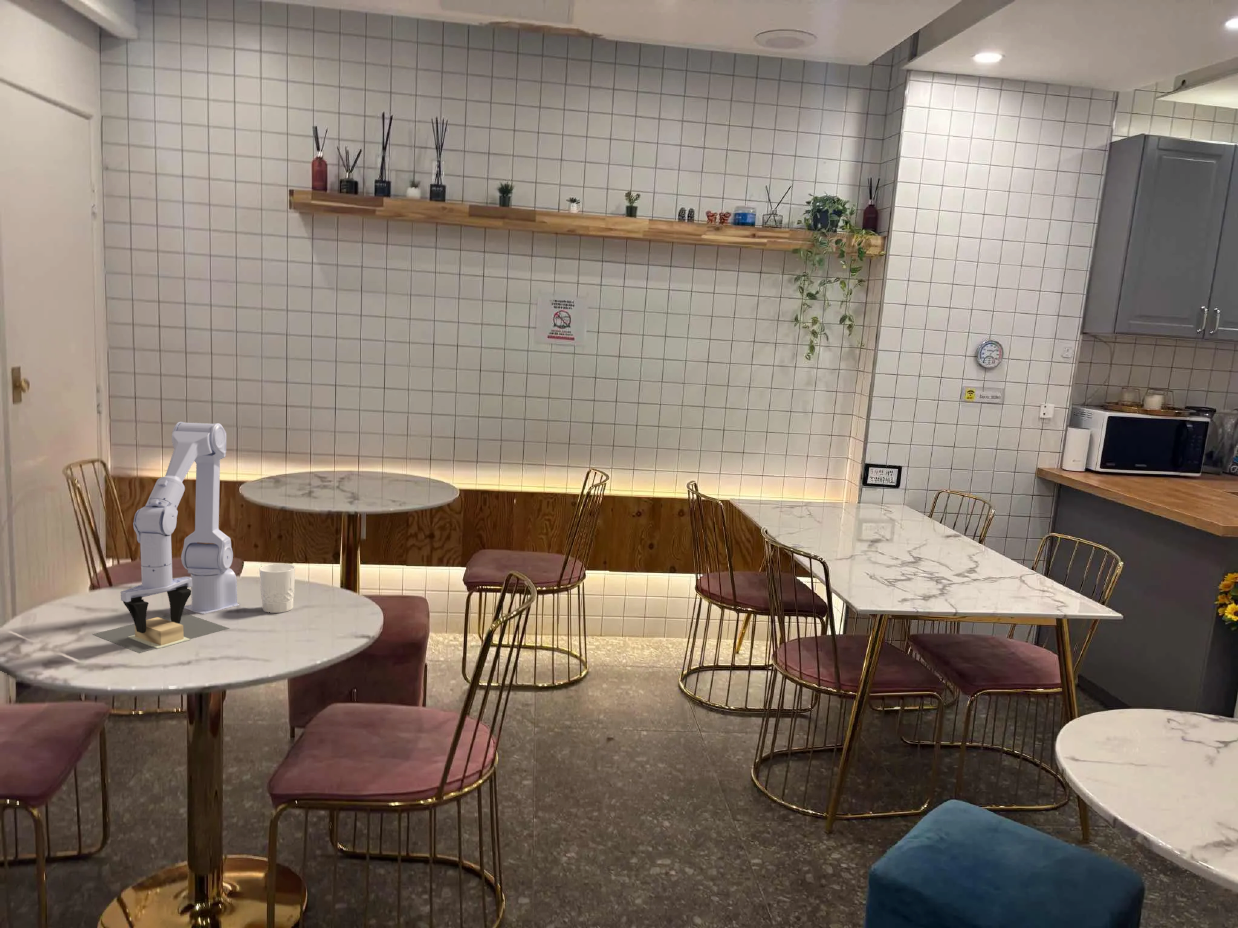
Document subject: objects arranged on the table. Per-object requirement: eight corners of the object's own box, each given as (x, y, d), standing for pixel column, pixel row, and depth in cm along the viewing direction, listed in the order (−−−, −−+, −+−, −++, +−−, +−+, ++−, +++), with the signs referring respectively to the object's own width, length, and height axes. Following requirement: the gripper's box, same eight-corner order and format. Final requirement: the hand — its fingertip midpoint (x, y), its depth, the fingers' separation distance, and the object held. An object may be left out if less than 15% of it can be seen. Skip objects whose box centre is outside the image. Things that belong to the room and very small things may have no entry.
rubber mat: (182, 613, 208) (182, 611, 208) (231, 630, 198) (231, 627, 198) (92, 635, 191) (92, 633, 191) (140, 655, 181) (140, 652, 181)
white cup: (258, 614, 210) (257, 572, 208) (261, 604, 217) (261, 564, 216) (294, 613, 212) (293, 571, 210) (296, 603, 219) (296, 563, 218)
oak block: (183, 638, 190) (183, 625, 190) (161, 645, 186) (160, 631, 185) (157, 630, 195) (157, 616, 194) (135, 636, 190) (134, 622, 190)
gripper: (177, 554, 196) (179, 615, 198) (110, 567, 184) (113, 632, 186) (197, 559, 193) (199, 621, 194) (131, 573, 180) (133, 639, 182)
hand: (158, 627), depth 190 cm, fingers open, 7 cm apart
